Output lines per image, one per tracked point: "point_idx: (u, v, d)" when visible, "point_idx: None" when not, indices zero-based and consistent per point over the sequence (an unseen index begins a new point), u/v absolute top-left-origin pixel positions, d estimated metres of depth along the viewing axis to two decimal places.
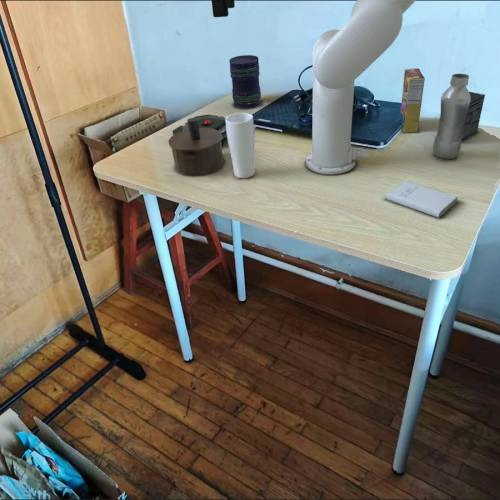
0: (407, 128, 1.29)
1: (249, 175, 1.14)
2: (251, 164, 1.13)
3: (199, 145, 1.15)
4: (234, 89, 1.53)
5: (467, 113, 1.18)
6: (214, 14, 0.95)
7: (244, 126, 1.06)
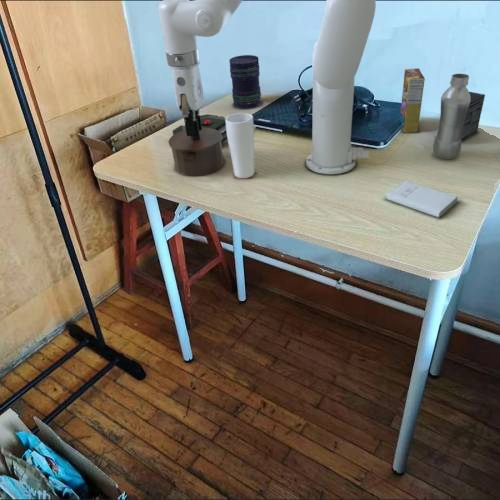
0: (407, 128, 1.29)
1: (249, 175, 1.14)
2: (251, 164, 1.13)
3: (199, 145, 1.15)
4: (234, 89, 1.53)
5: (467, 113, 1.18)
6: (187, 134, 1.16)
7: (244, 126, 1.06)
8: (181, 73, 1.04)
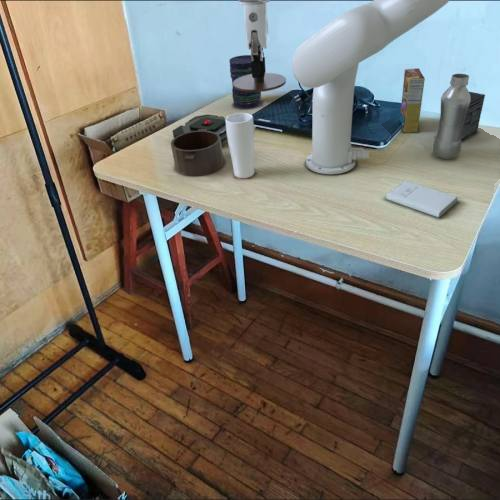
0: (407, 128, 1.29)
1: (249, 175, 1.14)
2: (251, 164, 1.13)
3: (265, 86, 1.15)
4: (234, 89, 1.53)
5: (467, 113, 1.18)
6: (253, 75, 1.16)
7: (244, 126, 1.06)
8: (253, 8, 1.04)
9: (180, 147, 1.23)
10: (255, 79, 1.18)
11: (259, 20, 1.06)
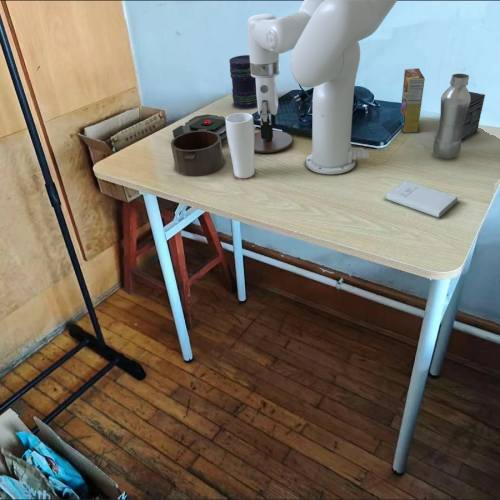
0: (407, 128, 1.29)
1: (249, 175, 1.14)
2: (251, 164, 1.13)
3: (273, 146, 1.26)
4: (234, 89, 1.53)
5: (467, 113, 1.18)
6: (262, 136, 1.24)
7: (244, 126, 1.06)
8: (264, 81, 1.15)
9: (180, 147, 1.23)
10: (264, 139, 1.29)
11: (269, 92, 1.16)
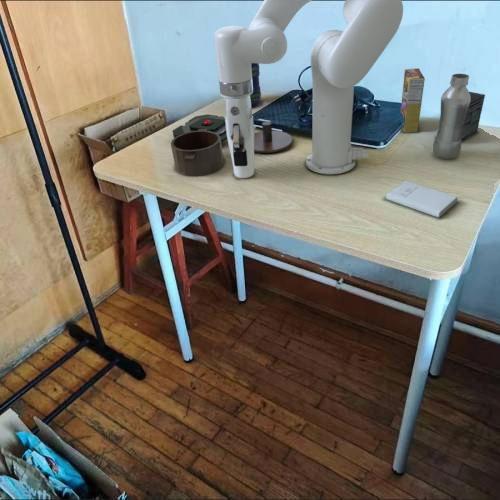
0: (407, 128, 1.29)
1: (249, 175, 1.14)
2: (251, 164, 1.13)
3: (273, 146, 1.26)
4: None
5: (467, 113, 1.18)
6: (235, 164, 1.11)
7: None
8: (235, 102, 1.01)
9: (180, 147, 1.23)
10: (264, 139, 1.29)
11: (241, 114, 1.02)
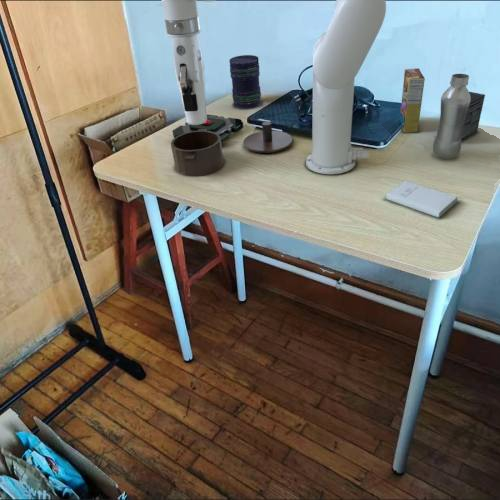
0: (407, 128, 1.29)
1: (201, 122, 1.13)
2: (202, 110, 1.12)
3: (273, 146, 1.26)
4: (234, 89, 1.53)
5: (467, 113, 1.18)
6: (185, 109, 1.10)
7: None
8: (180, 41, 0.99)
9: (180, 147, 1.23)
10: (264, 139, 1.29)
11: (187, 53, 1.01)
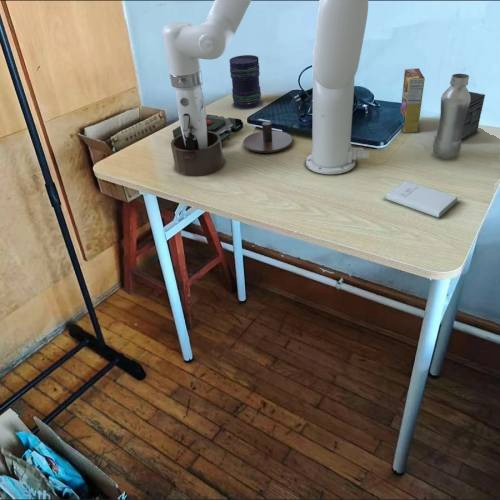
0: (407, 128, 1.29)
1: None
2: None
3: (273, 146, 1.26)
4: (234, 89, 1.53)
5: (467, 113, 1.18)
6: None
7: None
8: (184, 94, 1.07)
9: (180, 147, 1.23)
10: (264, 139, 1.29)
11: (190, 105, 1.08)
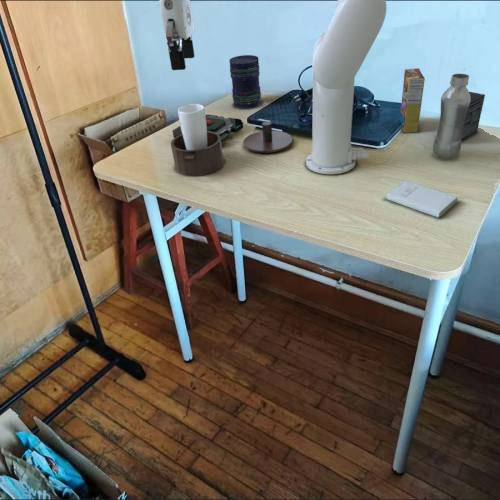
0: (407, 128, 1.29)
1: None
2: None
3: (273, 146, 1.26)
4: (234, 89, 1.53)
5: (467, 113, 1.18)
6: (172, 67, 1.03)
7: (195, 116, 1.12)
8: None
9: (180, 147, 1.23)
10: (264, 139, 1.29)
11: (175, 8, 0.96)
